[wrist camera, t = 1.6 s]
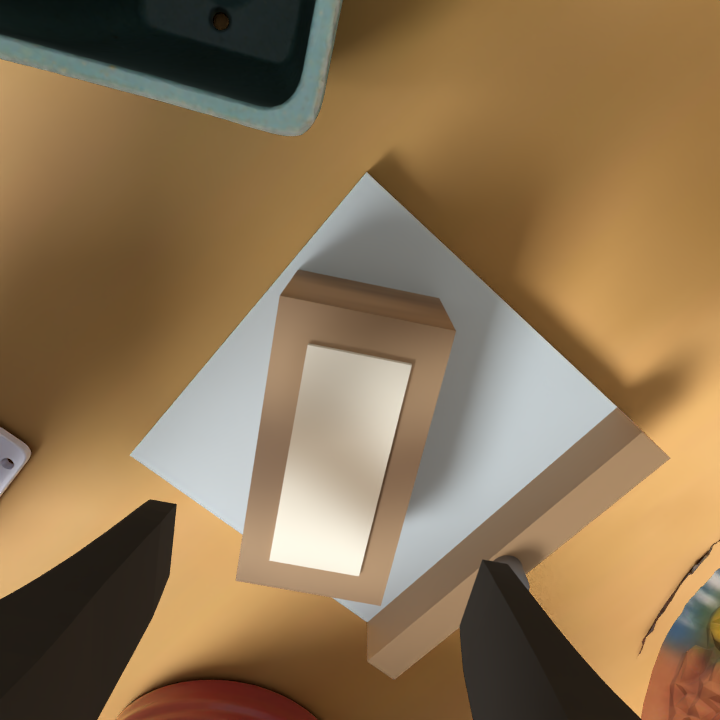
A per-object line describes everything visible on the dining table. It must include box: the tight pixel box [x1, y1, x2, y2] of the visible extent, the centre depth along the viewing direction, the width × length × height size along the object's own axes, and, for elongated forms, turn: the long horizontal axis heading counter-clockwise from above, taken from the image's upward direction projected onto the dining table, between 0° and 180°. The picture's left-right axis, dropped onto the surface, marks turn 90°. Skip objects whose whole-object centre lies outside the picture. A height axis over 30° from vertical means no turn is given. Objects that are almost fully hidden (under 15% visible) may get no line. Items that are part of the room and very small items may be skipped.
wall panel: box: [130, 172, 670, 680], centre depth 20 cm, size 14×14×4 cm
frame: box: [236, 269, 456, 606], centre depth 18 cm, size 10×5×4 cm, turn 169°
